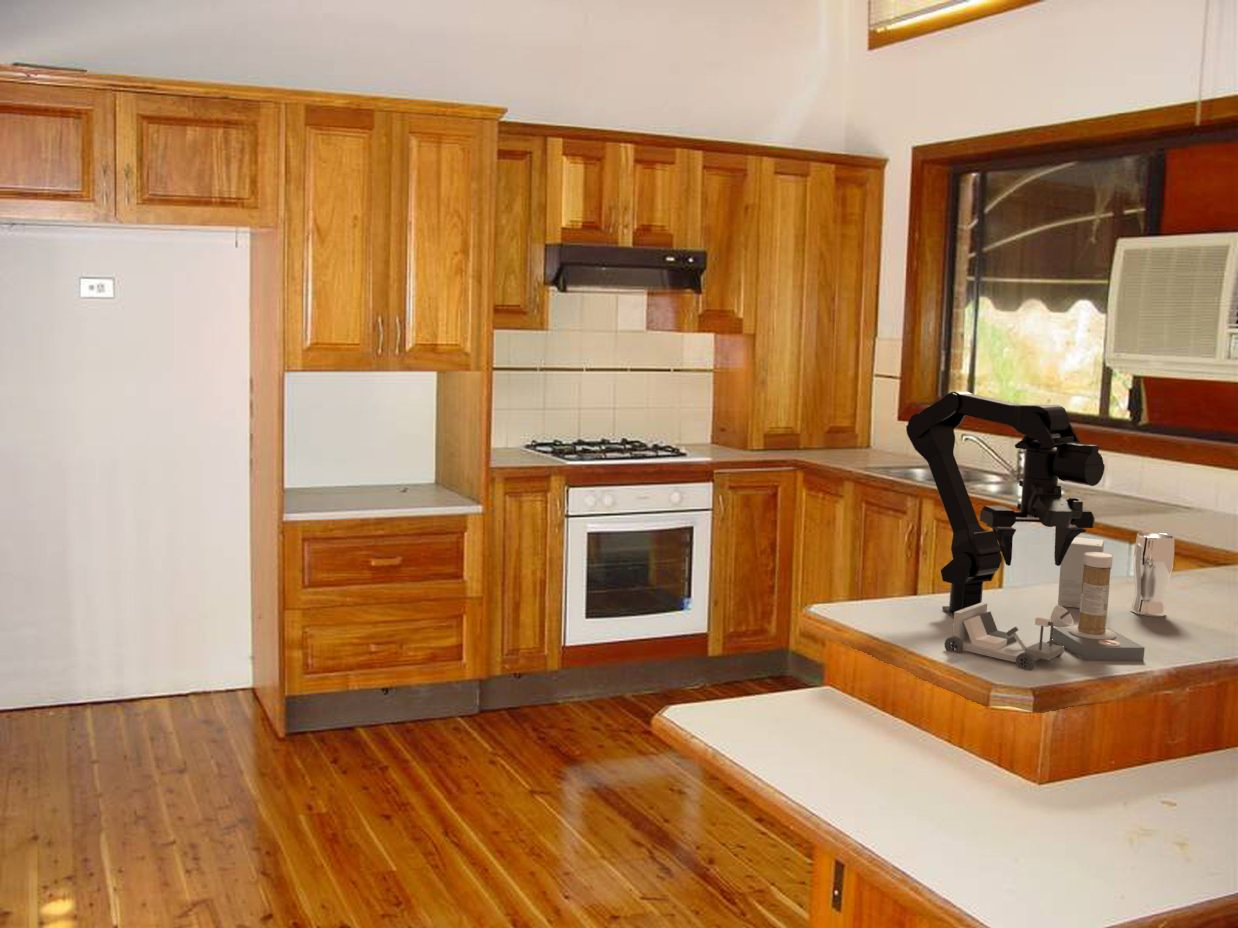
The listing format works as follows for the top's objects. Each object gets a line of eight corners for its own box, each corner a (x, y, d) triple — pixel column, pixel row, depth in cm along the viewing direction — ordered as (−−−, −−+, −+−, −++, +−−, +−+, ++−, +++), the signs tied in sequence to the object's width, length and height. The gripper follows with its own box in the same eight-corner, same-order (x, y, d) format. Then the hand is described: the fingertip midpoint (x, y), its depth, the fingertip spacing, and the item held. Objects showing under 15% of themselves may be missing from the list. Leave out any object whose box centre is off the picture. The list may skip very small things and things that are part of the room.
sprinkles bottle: (1086, 626, 216) (1093, 549, 214) (1111, 632, 212) (1118, 554, 210) (1071, 630, 213) (1078, 552, 211) (1096, 636, 209) (1103, 557, 207)
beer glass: (1128, 614, 236) (1135, 536, 234) (1128, 606, 242) (1135, 530, 240) (1168, 619, 233) (1176, 540, 231) (1167, 610, 240) (1175, 534, 238)
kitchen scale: (1052, 639, 216) (1053, 625, 216) (1107, 640, 217) (1108, 625, 217) (1085, 660, 204) (1086, 644, 204) (1143, 660, 205) (1144, 645, 205)
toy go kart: (1083, 604, 203) (1054, 616, 194) (1078, 663, 204) (1048, 677, 196) (979, 584, 215) (947, 594, 206) (975, 639, 216) (943, 652, 207)
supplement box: (1100, 603, 244) (1105, 539, 243) (1097, 611, 238) (1103, 545, 236) (1060, 597, 247) (1065, 535, 246) (1056, 605, 241) (1061, 541, 239)
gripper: (1010, 483, 208) (1003, 575, 210) (1115, 485, 211) (1106, 576, 213) (982, 473, 219) (974, 561, 221) (1081, 475, 222) (1073, 561, 224)
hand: (1032, 565), depth 219 cm, fingers open, 9 cm apart
